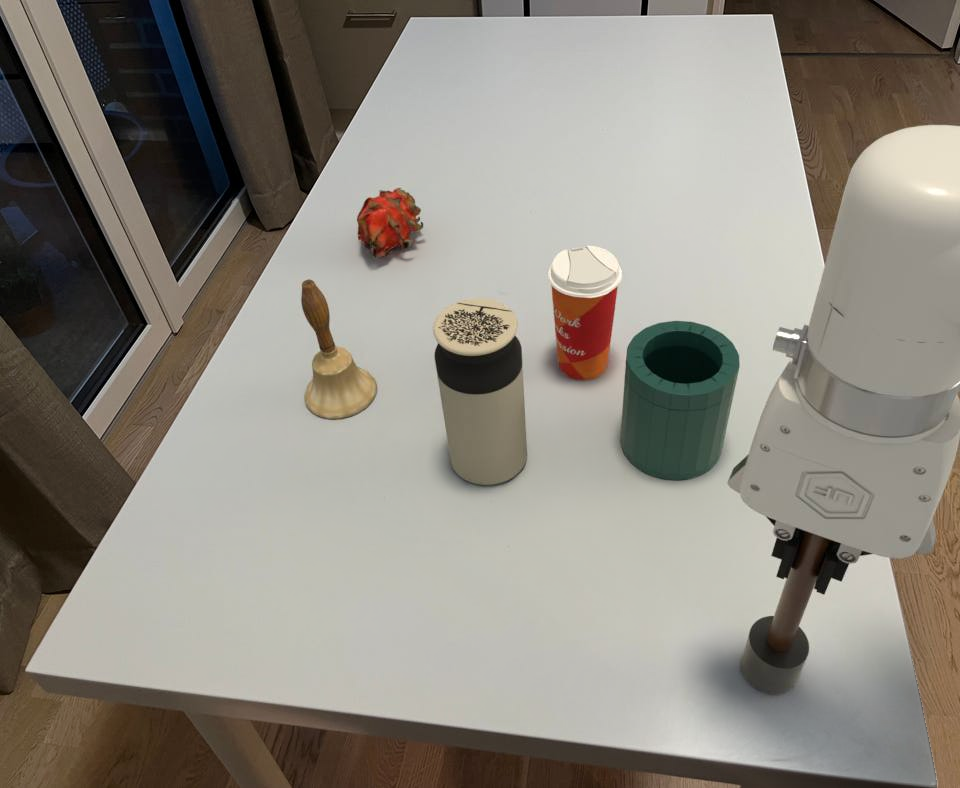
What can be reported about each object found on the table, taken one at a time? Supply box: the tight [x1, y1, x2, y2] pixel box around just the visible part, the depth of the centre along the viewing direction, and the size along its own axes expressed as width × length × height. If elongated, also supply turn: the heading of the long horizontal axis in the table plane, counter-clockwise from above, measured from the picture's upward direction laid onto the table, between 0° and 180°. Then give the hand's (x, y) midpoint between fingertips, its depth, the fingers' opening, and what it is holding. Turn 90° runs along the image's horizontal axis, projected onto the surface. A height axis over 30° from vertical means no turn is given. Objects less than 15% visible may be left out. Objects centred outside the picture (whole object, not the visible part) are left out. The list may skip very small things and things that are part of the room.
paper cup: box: [547, 245, 623, 381], centre depth 86 cm, size 8×8×14 cm
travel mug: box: [432, 298, 528, 486], centre depth 76 cm, size 8×8×18 cm
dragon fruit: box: [356, 187, 424, 259], centre depth 109 cm, size 8×8×12 cm
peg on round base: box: [740, 530, 832, 695], centre depth 57 cm, size 4×4×20 cm
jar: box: [620, 320, 740, 481], centre depth 78 cm, size 10×10×12 cm
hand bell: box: [300, 278, 378, 420], centre depth 85 cm, size 8×8×16 cm
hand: (805, 568), depth 54 cm, fingers closed on peg on round base
